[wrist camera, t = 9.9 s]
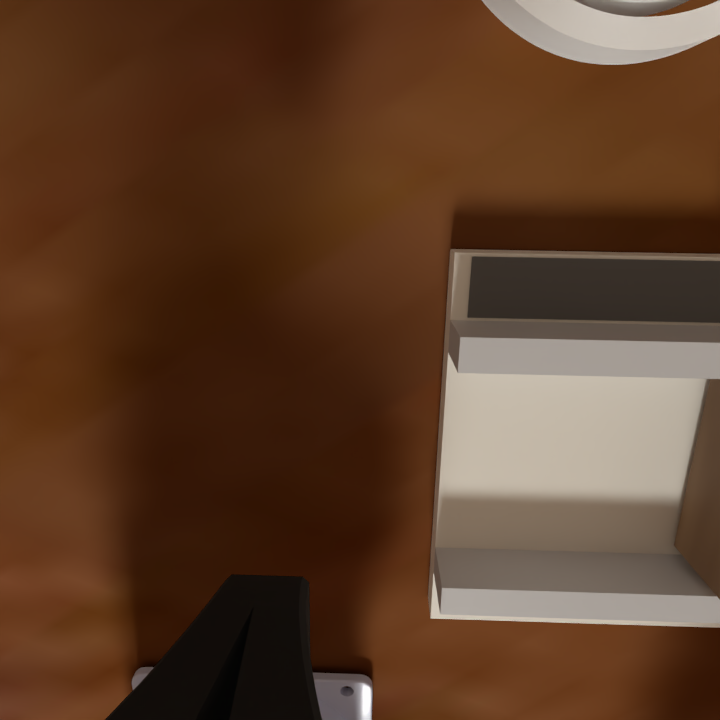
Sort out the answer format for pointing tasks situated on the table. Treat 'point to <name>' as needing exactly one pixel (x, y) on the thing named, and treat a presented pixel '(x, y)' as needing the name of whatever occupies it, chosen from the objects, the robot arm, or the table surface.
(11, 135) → the table surface
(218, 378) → the table surface
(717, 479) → the gauge slider
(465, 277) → the gauge base
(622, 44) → the white stepped post
